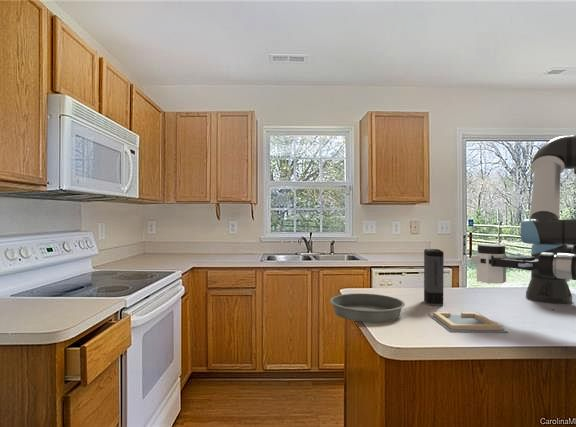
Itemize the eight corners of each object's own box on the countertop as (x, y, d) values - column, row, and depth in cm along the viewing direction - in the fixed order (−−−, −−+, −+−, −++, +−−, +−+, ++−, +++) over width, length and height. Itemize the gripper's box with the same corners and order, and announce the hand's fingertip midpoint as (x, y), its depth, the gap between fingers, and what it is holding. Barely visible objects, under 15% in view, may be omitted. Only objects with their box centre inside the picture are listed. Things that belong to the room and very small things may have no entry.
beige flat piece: (477, 315, 127) (477, 311, 127) (507, 332, 109) (507, 327, 109) (428, 315, 127) (428, 310, 127) (450, 332, 109) (450, 326, 109)
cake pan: (321, 319, 122) (321, 305, 122) (339, 303, 145) (339, 291, 145) (401, 328, 113) (401, 313, 113) (407, 309, 136) (407, 296, 136)
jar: (481, 278, 134) (481, 243, 134) (508, 281, 128) (508, 245, 128) (473, 281, 127) (474, 245, 127) (501, 284, 122) (501, 246, 122)
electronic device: (444, 306, 140) (444, 251, 140) (427, 305, 141) (427, 251, 141) (439, 300, 149) (439, 249, 149) (423, 300, 150) (423, 248, 150)
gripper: (548, 281, 108) (463, 272, 125) (562, 275, 120) (483, 267, 137) (548, 255, 108) (464, 249, 125) (562, 251, 120) (483, 246, 137)
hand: (474, 258), depth 131 cm, fingers closed on jar, 4 cm apart
